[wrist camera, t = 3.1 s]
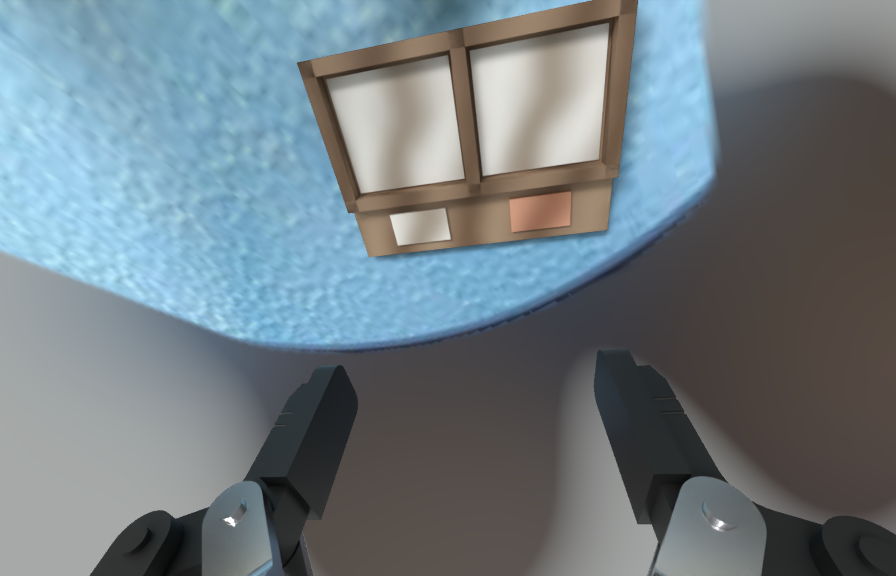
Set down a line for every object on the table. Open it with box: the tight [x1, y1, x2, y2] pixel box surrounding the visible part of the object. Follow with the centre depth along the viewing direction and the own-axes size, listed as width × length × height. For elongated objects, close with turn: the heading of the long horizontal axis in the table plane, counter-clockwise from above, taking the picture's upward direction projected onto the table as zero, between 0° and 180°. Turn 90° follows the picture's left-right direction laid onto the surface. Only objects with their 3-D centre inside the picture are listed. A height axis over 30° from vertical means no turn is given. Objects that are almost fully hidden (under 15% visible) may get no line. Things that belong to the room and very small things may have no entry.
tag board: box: [297, 0, 638, 257], centre depth 27 cm, size 22×16×2 cm
